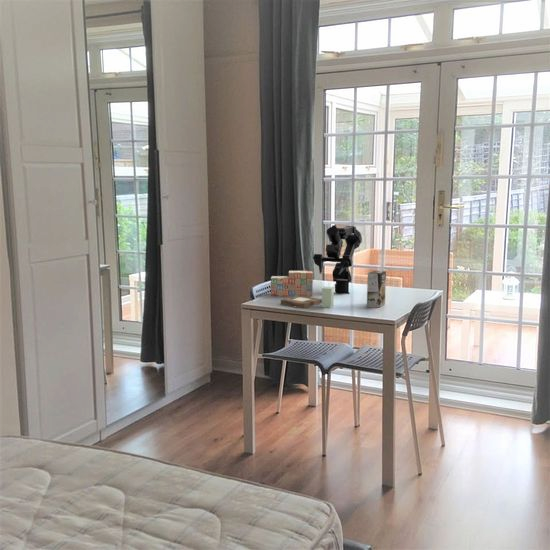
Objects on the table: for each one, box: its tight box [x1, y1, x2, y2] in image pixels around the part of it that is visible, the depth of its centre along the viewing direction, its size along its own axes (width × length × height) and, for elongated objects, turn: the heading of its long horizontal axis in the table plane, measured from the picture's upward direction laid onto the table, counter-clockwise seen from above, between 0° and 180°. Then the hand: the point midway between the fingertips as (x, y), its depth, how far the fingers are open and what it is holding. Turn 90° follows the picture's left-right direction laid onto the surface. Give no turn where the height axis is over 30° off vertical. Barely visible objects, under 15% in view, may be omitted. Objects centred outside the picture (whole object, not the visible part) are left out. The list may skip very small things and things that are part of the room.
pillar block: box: [321, 286, 335, 308], centre depth 287 cm, size 4×4×9 cm
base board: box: [280, 296, 322, 309], centre depth 294 cm, size 14×14×2 cm
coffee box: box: [366, 270, 387, 309], centre depth 288 cm, size 9×6×16 cm
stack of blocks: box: [270, 270, 314, 297], centre depth 314 cm, size 21×6×12 cm, turn 85°
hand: (329, 273), depth 296 cm, fingers open, 9 cm apart
